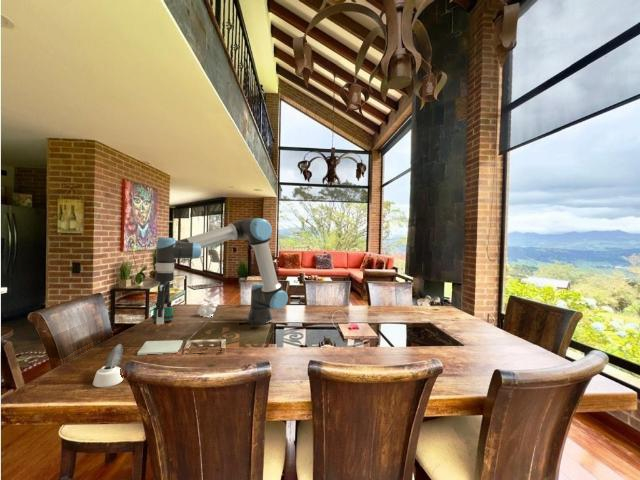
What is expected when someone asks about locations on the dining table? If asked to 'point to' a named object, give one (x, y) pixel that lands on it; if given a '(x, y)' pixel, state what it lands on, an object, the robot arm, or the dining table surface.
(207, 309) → the rabbit
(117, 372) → the inkwell
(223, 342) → the frame
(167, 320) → the binoculars
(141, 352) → the pad
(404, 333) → the dining table surface
